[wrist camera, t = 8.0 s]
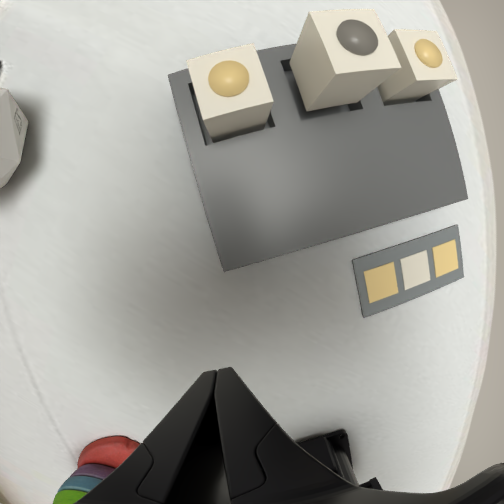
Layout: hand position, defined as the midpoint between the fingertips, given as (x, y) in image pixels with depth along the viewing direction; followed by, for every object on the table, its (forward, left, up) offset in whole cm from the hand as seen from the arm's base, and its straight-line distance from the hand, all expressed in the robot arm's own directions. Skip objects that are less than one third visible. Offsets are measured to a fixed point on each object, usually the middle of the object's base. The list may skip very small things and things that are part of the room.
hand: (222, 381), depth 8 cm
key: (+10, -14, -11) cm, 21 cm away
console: (+7, -8, -13) cm, 17 cm away
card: (-3, -13, -13) cm, 18 cm away
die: (+15, +15, -13) cm, 25 cm away
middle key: (+10, -9, -9) cm, 16 cm away
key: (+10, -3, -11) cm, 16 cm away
